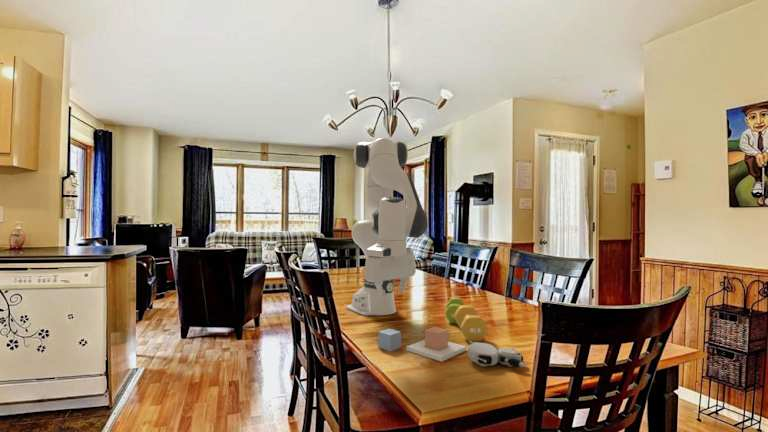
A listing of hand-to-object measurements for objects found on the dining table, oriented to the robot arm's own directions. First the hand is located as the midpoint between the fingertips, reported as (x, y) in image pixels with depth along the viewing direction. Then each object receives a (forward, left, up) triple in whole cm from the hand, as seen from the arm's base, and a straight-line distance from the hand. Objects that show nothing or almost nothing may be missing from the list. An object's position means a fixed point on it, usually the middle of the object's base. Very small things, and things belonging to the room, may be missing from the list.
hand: (391, 293), depth 122 cm
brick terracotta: (+12, +8, -16) cm, 21 cm away
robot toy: (+30, +11, -17) cm, 36 cm away
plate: (+12, +8, -17) cm, 22 cm away
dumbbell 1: (-4, +43, -17) cm, 47 cm away
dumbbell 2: (+10, +30, -17) cm, 36 cm away
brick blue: (0, 0, -17) cm, 17 cm away
